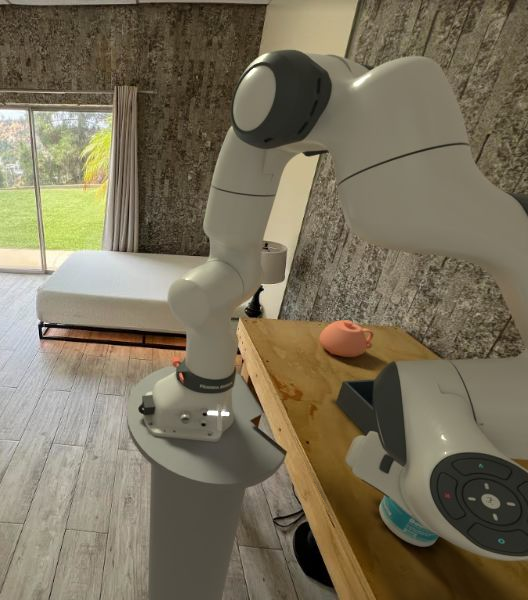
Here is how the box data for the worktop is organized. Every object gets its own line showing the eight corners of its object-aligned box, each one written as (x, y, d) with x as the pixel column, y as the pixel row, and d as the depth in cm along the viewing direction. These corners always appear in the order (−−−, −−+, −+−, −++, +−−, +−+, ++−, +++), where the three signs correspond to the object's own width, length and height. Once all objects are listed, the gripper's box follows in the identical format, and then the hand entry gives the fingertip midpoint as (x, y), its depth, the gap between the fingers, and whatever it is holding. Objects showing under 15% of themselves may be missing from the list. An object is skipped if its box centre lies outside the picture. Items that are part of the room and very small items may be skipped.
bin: (372, 443, 68) (383, 419, 65) (335, 402, 79) (343, 380, 76) (427, 440, 68) (439, 416, 65) (382, 400, 79) (391, 378, 76)
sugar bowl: (314, 337, 107) (321, 310, 102) (362, 343, 103) (372, 315, 98) (322, 357, 96) (330, 328, 92) (376, 365, 92) (387, 335, 88)
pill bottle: (401, 550, 49) (435, 494, 44) (367, 502, 56) (393, 449, 50) (448, 548, 50) (488, 492, 44) (408, 501, 56) (438, 447, 51)
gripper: (608, 543, 30) (545, 529, 40) (357, 423, 44) (356, 435, 54) (589, 609, 29) (528, 577, 39) (338, 465, 43) (341, 469, 53)
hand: (427, 494), depth 47 cm, fingers open, 8 cm apart
